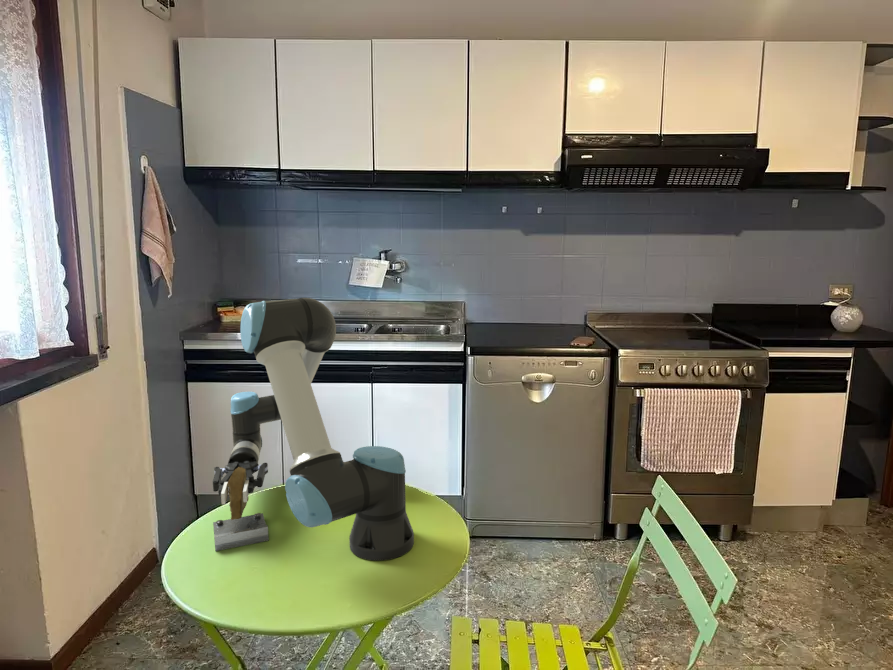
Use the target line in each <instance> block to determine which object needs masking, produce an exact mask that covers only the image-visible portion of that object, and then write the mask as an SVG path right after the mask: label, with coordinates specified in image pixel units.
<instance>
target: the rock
mask: <svg viewBox="0 0 893 670" xmlns="http://www.w3.org/2000/svg"><path fill="white" fill-rule="evenodd" d="M245 480H246V469H244V468H242V467H238V468H237V469H235V470H234V471H233V473H232V475H231V477H230V479H229V481H228V486H229V487H228V491H229V493H228V496H229V511H230V516H231V517H230V519H231V520H234V519H240V518H241V517H243V514H244V511H245V508H246V506H247V504H248V501H249V498H248V499H247V502H244V501H243V489H244V485H245Z"/></svg>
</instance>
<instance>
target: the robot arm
mask: <svg viewBox="0 0 893 670" xmlns="http://www.w3.org/2000/svg"><path fill="white" fill-rule="evenodd" d="M336 333H337V325H336V320H335V317H334V315H333V313H332V312H331V310H330V309H329V308H328V307H327V306H326V305H325V304H324V303H322V302H321V301H319V300H317V299H315V298H311V297H300V298H291V299H280V300H279V299H278V300H268V301H267V300H262V301H258V302H252V303H251V302H250V303H249V304H246V306H244V309H243V310H242V314H241V319H240V341H241V342H240V343H241V345H242V348H243V350H244V352H246V353H248V354H253V353H254V357H255V359H256V362H257V363H258V364H260V365H262V366H265V369H266V373H267V377H268V380H269V382H270V386H271V389H272V393H273V394H272V395H271V394H270V395H266V396H261V397H259V395H258V393H257V392H254V391H241V392H237V393H235V394H233V395H232V396H231V398H230V416H231V427H232V443H233V447H232V450H231V453H230V456H229V460H228V462H227V464H226V465H225V466H224V467H219V466H215V467H213V469H214V477H213V479H212V491H213V492H218V496H219V497H221V499H220V501H221V505H226V502H227V499H228V496H229V486H228V481H229V479H230V477H231V475H232V473H233V471H234V470H235V469H237V468H238V467H242V468H244V469H246V480H245V485H244V489H243V501H244V502H247V503H248V501H247V499H248V500H249V494H253V493H254V490H255V487H257V488H262V487H263V484H264V480H265V477H266V475H267V474H268V473H269V465H268V462H263V463H262V464H259V460H260V453H261V450H262V448H263V438H262V435H261V424H266V423H271V422H276V421H280V420H281V423H282V426H283V429H284V432H285V433H284V434H285V436H286V439H287V444H288V447H289V450H290V453H291V455H292V459H293V462H292V464H291V466H290V468H289V470H288V471H289V475H290V476H289V477H288V478H287V479H286V480H285V483H284V490H285V492H286V493H285V496H286V500H287V503H288V506H289V508H290V510H291V512H292V514H293V516H294V517H295V519H296V520H297V521H298V522H299V523H301V524H302V525H303V526H304V527H307V528H315V527H318V526H319V527H320V526H322V525H324V526H325V525H326V526H327V525H328V524H330V523H332V522H335V521H338V520H341V519H345V518H347V517H351V516H353V515H355V517H354V520H353V523H352V527H351V531H350V533H349V538H348V539H349V549H350V551H351V553H352V554H353V555H355V556H356V557H358V558H360V559H363V560H368V561H378V562H379V561H387V560H393V559H397V558H399V557H402V556H404V555H406V554H407V553H408V552H410V550H412V548H413V547H414V543H415V538H414V535H415V534H414V529H413V526H412V524H411V522H410V519H409V515H408V513H407V507H406V504H407V503H406V502H407V501H406V466H405V464H406V463H405V458H404V456H403V454H402V453H401V452H400V451H398V450H396V449H394V448H390V447H386V446H379V445H367V446H361V447H359V448H356V449H355V450H354V451H353V454H352V458H353V459H350V460H347V461H344V460H343V457H342V454H341V452H340V451H339V450H336V449H334V448H333V447H332V445H331V443H330V439H329V437H328V432H327V431H326V427H325V424H324V421H323V417H322V414H321V412H320V409H319V405H318V402H317V399H316V396H315V392H314V390H313V387H312V382H313V379H314V378H315V375H316V373H317V371H318V370H319V369H318V368H319V366H320V364H321V361H322V360H323V357H324V355H325V353H326V352H328V351H329V350H330V349H331V348H332V346H333V344H334V342H335V339H336V336H337V335H336ZM254 473H257V474H256V478H255V476H254ZM224 474H225V475H224Z"/></svg>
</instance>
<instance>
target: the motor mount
mask: <svg viewBox="0 0 893 670" xmlns="http://www.w3.org/2000/svg"><path fill="white" fill-rule="evenodd" d="M212 525H213V538H214V550H215V552H219V551H222V550H228V549H233V548H238V547H243V546H248V545H252V544H258V543H263V542H268V541H269V539H270V538H269V527H268V525H267V523H266V521H265V517H264V513H263V512H260V513H259V512H257V513H254V514H250V515H245V516H242V517H241V518H240V519H234V520H231V518H229V519H223V520H222V519H219V520H216V521H213V522H212Z"/></svg>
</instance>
